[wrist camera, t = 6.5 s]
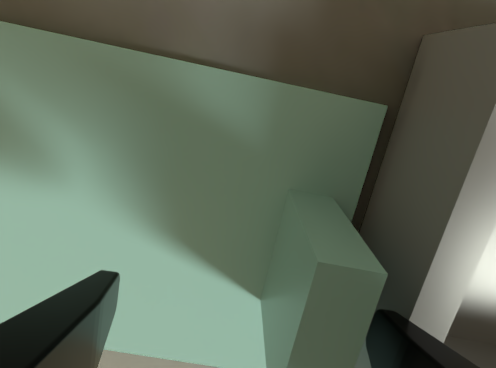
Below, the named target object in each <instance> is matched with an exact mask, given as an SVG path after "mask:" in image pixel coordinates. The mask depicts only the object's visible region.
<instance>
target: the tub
mask: <svg viewBox="0 0 496 368" xmlns="http://www.w3.org/2000/svg"><path fill="white" fill-rule="evenodd" d="M359 235H360V236H361V237H362V239H363V240H364V242H365V243H366V244H367V246H368V247H369V249H370V250H371V251H372V253H373V254H374V256H375V257H376V258H377V260H378V261H379V263H380V264H381V265H382V267H383V268H384V269H385V271H386V272H387V274H388V276H387V279H386V281H385V284H384V287H383V290H382V292H381V295H380V298H379V301H378V303H377V306H376V309H375V312H376V310H378V309H386V310H393V311H395V312H397V313H399V314H400V315H402V316H403V317H405V318H406V319H408V320H409V321H411V322H412V323H414V324H415V325H417V326H418V327H420V328H421V329H423V330H424V331H426V332H427V333H429V334H430V335H432V336H433V337H435V338H436V339H438V340H439V341H441V342H442V343H444V344H445V345H447V346H448V347H450V348H451V349H453V350H454V351H456V352H457V353H459V354H460V355H462V356H463V357H465V358H466V359H468V360H469V361H471V362H472V363H474V364H475V365H477V366H478V367H480V368H496V23H492V24H486V25H481V26H475V27H469V28H463V29H457V30H451V31H446V32H440V33H434V34H428V35H423V38H422V41H421V44H420V47H419V51H418V54H417V57H416V60H415V63H414V66H413V69H412V72H411V75H410V78H409V81H408V84H407V87H406V90H405V94H404V97H403V100H402V103H401V106H400V109H399V112H398V115H397V118H396V121H395V124H394V127H393V130H392V133H391V136H390V140H389V143H388V146H387V149H386V152H385V155H384V158H383V161H382V164H381V167H380V170H379V173H378V176H377V179H376V183H375V186H374V189H373V192H372V195H371V198H370V201H369V204H368V207H367V210H366V213H365V216H364V219H363V222H362V225H361V229H360V232H359ZM375 312H374V313H375ZM373 316H374V315H373ZM372 319H373V317H372ZM371 321H372V320H371ZM370 324H371V323H370ZM369 327H370V326H369ZM368 330H369V328H368ZM367 333H368V331H367ZM366 336H367V334H366ZM354 368H371V365H370V361H369V357H368V353H367V349H366V337H365V340H364V342H363V345H362V348H361V351H360V353H359V356H358V359H357V362H356V364H355V367H354Z"/></svg>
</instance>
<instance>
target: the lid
mask: <svg viewBox="0 0 496 368" xmlns="http://www.w3.org/2000/svg"><path fill="white" fill-rule="evenodd" d="M387 107H388V106H386V105H382V104H378V103H373V102H369V101H364V100H359V99H355V98H350V97H346V96H341V95H337V94H332V93H327V92H323V91H318V90H314V89H309V88H305V87H300V86H295V85H291V84H286V83H282V82H277V81H273V80H268V79H263V78H259V77H254V76H250V75H245V74H241V73H236V72H232V71H227V70H222V69H218V68H213V67H209V66H204V65H200V64H195V63H190V62H186V61H181V60H177V59H172V58H168V57H163V56H158V55H154V54H149V53H145V52H140V51H136V50H131V49H126V48H122V47H117V46H113V45H108V44H104V43H99V42H94V41H90V40H85V39H81V38H76V37H72V36H67V35H63V34H58V33H53V32H49V31H44V30H40V29H35V28H31V27H26V26H21V25H17V24H12V23H8V22H3V21H0V323H2V322H4V321H6V320H8V319H10V318H12V317H13V316H15V315H17V314H19V313H21V312H23V311H25V310H27V309H28V308H30V307H32V306H34V305H36V304H38V303H40V302H42V301H43V300H45V299H47V298H49V297H51V296H53V295H55V294H57V293H59V292H60V291H62V290H64V289H66V288H68V287H70V286H72V285H74V284H75V283H77V282H79V281H81V280H83V279H85V278H87V277H89V276H90V275H92V274H94V273H96V272H98V271H100V270H107V271H114V272H118V273H119V274H120V283H119V292H118V300H117V307H116V312H115V315H114V318H113V321H112V325H111V328H110V331H109V334H108V337H107V340H106V343H105V346H104V350H110V351H117V352H123V353H129V354H136V355H142V356H149V357H155V358H162V359H168V360H175V361H181V362H188V363H194V364H200V365H207V366H213V367H220V368H354V367H355V364H356V362H357V359H358V356H359V353H360V351H361V348H362V345H363V342H364V340H365V337H366V334H367V331H368V328H369V326H370V323H371V320H372V317H373V315H374V312H375V309H376V306H377V303H378V301H379V298H380V295H381V292H382V290H383V287H384V284H385V281H386V279H387V276H388V274H387V272H386V271H385V269H384V268H383V267H382V265H381V264H380V263H379V261H378V260H377V258H376V257H375V256H374V254H373V253H372V251H371V250H370V249H369V247H368V246H367V244H366V243H365V242H364V240H363V239H362V237H361V236H360V235H359V233H358V232H357V230H356V229H355V228H354V226H353V225H352V224H351V222H352V219H353V216H354V212H355V209H356V206H357V203H358V200H359V196H360V193H361V190H362V187H363V184H364V181H365V177H366V174H367V171H368V168H369V165H370V161H371V158H372V155H373V152H374V149H375V146H376V142H377V139H378V136H379V133H380V130H381V126H382V123H383V120H384V117H385V114H386V110H387Z"/></svg>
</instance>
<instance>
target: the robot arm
mask: <svg viewBox="0 0 496 368" xmlns="http://www.w3.org/2000/svg"><path fill="white" fill-rule="evenodd" d="M119 283H120V274H119V273H118V272H114V271H107V270H100V271H98V272H96V273H94V274H92V275H90V276H89V277H87V278H85V279H83V280H81V281H79V282H77V283H75V284H74V285H72V286H70V287H68V288H66V289H64V290H62V291H60V292H59V293H57V294H55V295H53V296H51V297H49V298H47V299H45V300H43V301H42V302H40V303H38V304H36V305H34V306H32V307H30V308H28V309H27V310H25V311H23V312H21V313H19V314H17V315H15V316H13V317H12V318H10V319H8V320H6V321H4V322H2V323H0V368H97V367H98V364H99V361H100V358H101V355H102V352H103V349H104V346H105V343H106V340H107V337H108V334H109V331H110V328H111V325H112V321H113V318H114V315H115V312H116V307H117V300H118V292H119ZM366 349H367V353H368V357H369V361H370V365H371V368H480V367H478V366H477V365H475V364H474V363H472V362H471V361H469V360H468V359H466V358H465V357H463V356H462V355H460V354H459V353H457V352H456V351H454V350H453V349H451V348H450V347H448V346H447V345H445V344H444V343H442V342H441V341H439V340H438V339H436V338H435V337H433V336H432V335H430V334H429V333H427V332H426V331H424V330H423V329H421V328H420V327H418V326H417V325H415V324H414V323H412V322H411V321H409V320H408V319H406V318H405V317H403V316H402V315H400V314H399V313H397V312H395V311H393V310H386V309H378V310H376V312H375V313H374V316H373V319H372V321H371V324H370V327H369V330H368V333H367V336H366Z"/></svg>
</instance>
